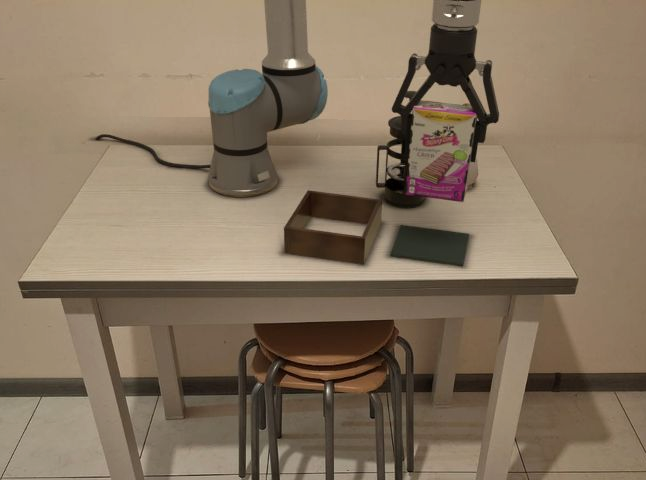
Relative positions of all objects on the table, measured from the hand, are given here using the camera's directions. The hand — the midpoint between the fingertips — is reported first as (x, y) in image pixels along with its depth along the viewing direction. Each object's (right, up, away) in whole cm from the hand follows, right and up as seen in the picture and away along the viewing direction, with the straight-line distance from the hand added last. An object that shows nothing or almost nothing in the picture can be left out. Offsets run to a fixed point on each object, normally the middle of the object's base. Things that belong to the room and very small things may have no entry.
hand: (440, 155), depth 125 cm
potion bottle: (+8, +3, +34) cm, 35 cm away
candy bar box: (0, -6, +5) cm, 8 cm away
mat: (0, -15, +12) cm, 19 cm away
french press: (-5, -2, +28) cm, 28 cm away
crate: (-19, -13, +13) cm, 27 cm away
